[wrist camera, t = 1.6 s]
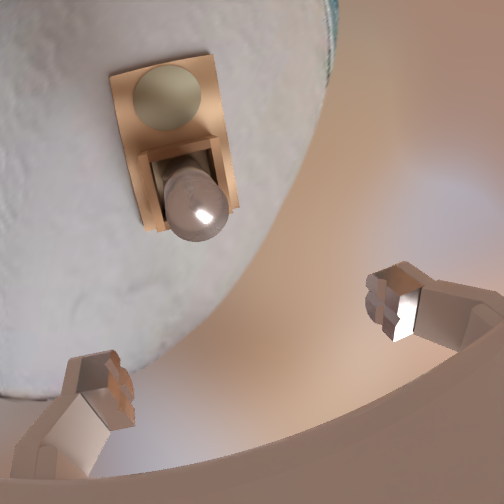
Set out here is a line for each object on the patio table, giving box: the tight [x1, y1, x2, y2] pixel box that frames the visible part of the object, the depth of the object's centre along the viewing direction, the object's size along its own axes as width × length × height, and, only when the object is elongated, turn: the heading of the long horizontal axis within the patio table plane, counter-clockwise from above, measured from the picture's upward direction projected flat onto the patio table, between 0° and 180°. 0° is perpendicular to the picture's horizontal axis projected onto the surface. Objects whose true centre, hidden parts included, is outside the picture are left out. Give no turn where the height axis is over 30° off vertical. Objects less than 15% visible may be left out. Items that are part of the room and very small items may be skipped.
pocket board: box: [109, 54, 240, 233], centre depth 27 cm, size 16×10×5 cm, turn 9°
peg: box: [163, 157, 229, 242], centre depth 25 cm, size 4×4×12 cm
